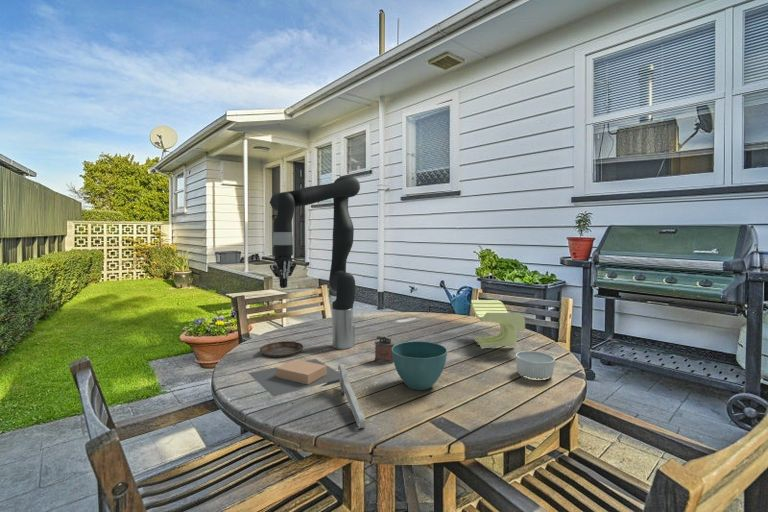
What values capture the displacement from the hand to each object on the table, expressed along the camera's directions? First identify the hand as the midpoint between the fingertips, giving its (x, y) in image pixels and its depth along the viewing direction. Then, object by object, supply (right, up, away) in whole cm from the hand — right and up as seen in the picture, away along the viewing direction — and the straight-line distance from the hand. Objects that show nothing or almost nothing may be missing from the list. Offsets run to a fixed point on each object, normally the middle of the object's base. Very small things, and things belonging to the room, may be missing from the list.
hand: (283, 287), depth 152 cm
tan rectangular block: (+5, -27, -15) cm, 32 cm away
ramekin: (+93, -30, -15) cm, 99 cm away
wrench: (+30, -32, -38) cm, 58 cm away
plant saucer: (-3, -29, +9) cm, 31 cm away
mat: (+9, -30, -17) cm, 36 cm away
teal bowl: (+51, -31, -23) cm, 64 cm away
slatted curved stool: (+90, -28, +23) cm, 97 cm away
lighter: (+40, -29, 0) cm, 49 cm away
